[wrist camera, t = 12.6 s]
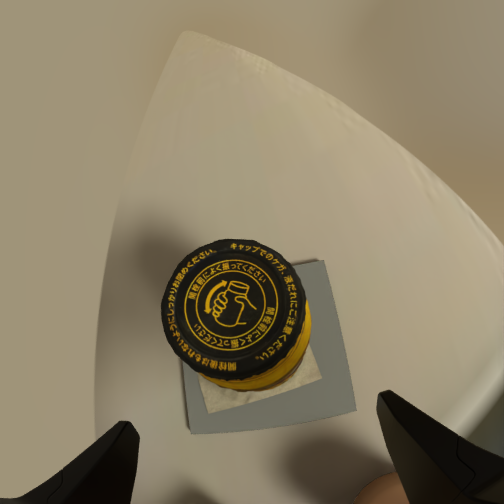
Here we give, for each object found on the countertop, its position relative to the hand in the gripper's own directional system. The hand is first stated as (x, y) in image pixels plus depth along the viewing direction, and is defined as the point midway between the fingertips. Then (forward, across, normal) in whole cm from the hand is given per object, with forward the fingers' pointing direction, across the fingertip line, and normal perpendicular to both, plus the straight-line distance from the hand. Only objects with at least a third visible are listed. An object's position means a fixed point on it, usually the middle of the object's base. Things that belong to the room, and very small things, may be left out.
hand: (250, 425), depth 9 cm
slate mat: (+11, 0, +5) cm, 12 cm away
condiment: (+11, +1, +5) cm, 12 cm away
